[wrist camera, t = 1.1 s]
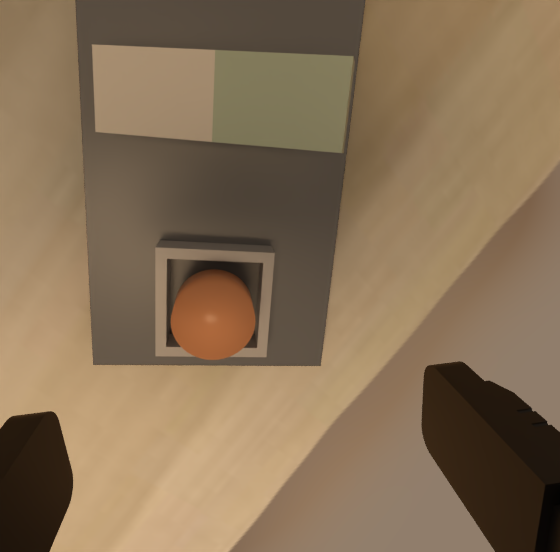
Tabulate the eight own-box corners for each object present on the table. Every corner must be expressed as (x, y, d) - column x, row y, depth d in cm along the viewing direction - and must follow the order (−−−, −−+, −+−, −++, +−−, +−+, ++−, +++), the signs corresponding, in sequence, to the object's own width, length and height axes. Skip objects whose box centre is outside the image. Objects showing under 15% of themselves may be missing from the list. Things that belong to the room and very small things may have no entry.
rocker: (109, 133, 18) (95, 132, 17) (107, 50, 17) (92, 44, 16) (343, 153, 16) (342, 152, 15) (354, 62, 15) (353, 56, 15)
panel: (103, 347, 24) (84, 381, 20) (79, -236, 17) (43, -334, 13) (312, 349, 26) (327, 381, 22) (373, -173, 18) (408, -245, 15)
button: (174, 339, 20) (170, 359, 18) (175, 267, 19) (171, 281, 17) (249, 340, 21) (252, 360, 19) (254, 270, 20) (258, 284, 18)
